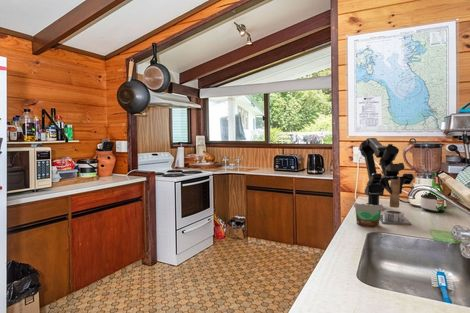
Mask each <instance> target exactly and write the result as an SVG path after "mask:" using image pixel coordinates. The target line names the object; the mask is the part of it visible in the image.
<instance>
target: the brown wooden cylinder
mask: <svg viewBox="0 0 470 313" xmlns="http://www.w3.org/2000/svg"><path fill="white" fill-rule="evenodd" d="M389 185H390V188H391V191H392V194H390V193H389V207H390V208H395V209H396V208H400V195H401V194H400V179H391V181H390V182H389Z"/></svg>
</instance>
